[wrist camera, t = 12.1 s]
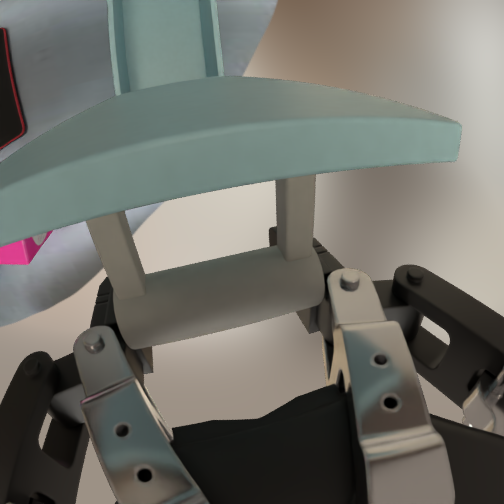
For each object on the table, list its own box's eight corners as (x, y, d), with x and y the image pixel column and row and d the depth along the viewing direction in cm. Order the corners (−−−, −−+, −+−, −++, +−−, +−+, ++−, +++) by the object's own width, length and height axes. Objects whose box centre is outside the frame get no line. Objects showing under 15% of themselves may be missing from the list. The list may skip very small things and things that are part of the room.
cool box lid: (-73, 227, 2) (69, 414, 5) (465, 123, 4) (406, 327, 7) (114, 96, 19) (126, 157, 22) (225, 75, 21) (231, 136, 24)
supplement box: (20, 172, 25) (-31, 206, 15) (62, 168, 27) (19, 200, 17) (26, 219, 28) (-17, 266, 18) (66, 216, 29) (31, 266, 20)
